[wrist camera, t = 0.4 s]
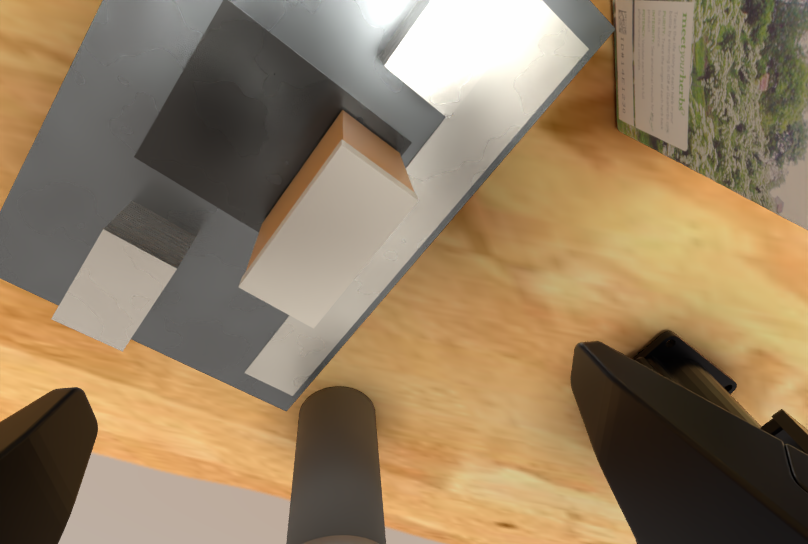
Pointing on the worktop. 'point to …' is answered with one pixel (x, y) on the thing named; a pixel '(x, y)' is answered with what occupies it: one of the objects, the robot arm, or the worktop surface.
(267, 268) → the block
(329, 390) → the post
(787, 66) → the syrup box
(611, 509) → the worktop surface
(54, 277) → the breaker panel
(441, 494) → the worktop surface
